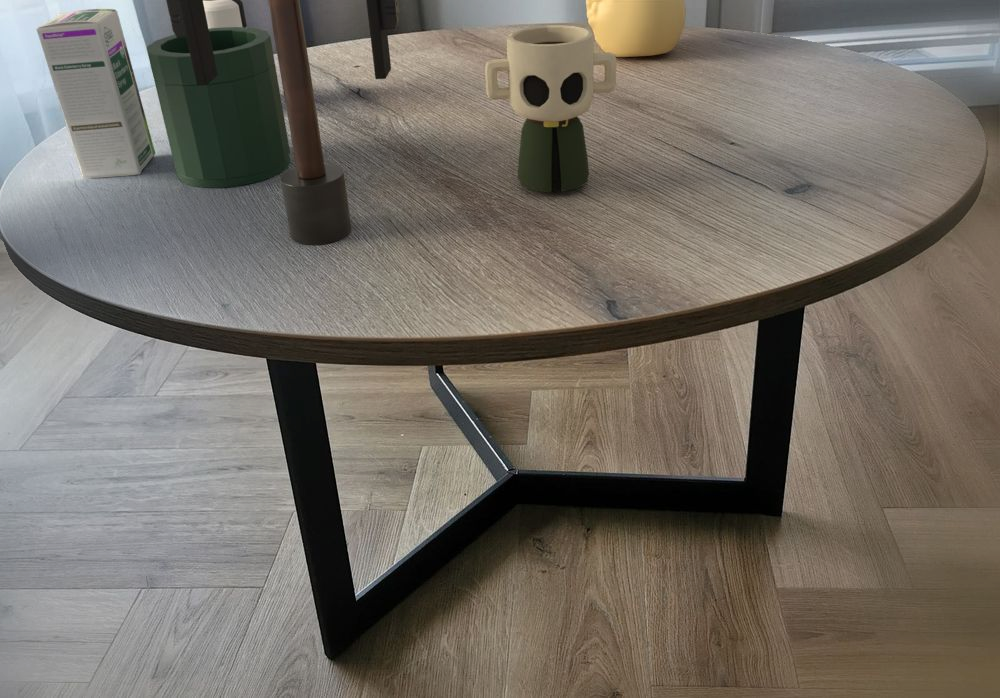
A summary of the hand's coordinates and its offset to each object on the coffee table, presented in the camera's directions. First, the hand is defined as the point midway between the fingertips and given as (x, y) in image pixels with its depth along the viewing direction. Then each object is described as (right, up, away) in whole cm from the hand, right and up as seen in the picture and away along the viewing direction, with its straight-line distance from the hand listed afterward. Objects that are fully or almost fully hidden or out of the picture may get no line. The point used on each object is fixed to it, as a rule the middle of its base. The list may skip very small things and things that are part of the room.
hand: (295, 77), depth 72 cm
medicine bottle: (-15, +7, +39) cm, 42 cm away
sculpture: (+33, +17, +50) cm, 62 cm away
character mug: (+20, -6, +13) cm, 25 cm away
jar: (-10, -3, +21) cm, 24 cm away
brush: (+1, -11, +7) cm, 13 cm away
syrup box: (-22, -3, +23) cm, 32 cm away
